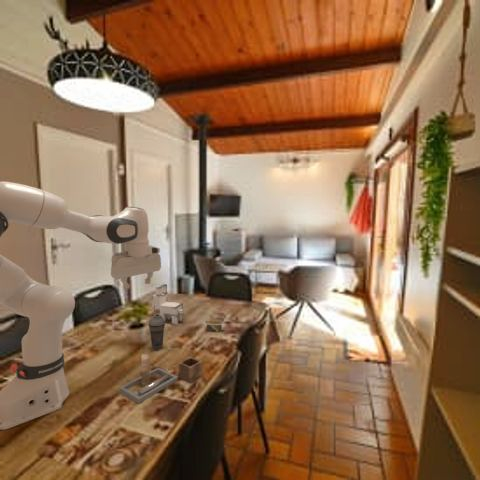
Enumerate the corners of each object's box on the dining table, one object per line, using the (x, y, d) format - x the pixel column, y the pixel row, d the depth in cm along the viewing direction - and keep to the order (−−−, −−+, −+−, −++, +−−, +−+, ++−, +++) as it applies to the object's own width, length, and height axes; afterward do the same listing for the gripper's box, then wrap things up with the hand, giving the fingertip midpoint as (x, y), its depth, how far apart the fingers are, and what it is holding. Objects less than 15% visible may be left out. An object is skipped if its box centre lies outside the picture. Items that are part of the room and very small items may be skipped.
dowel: (145, 387, 111) (144, 357, 110) (139, 384, 113) (139, 355, 112) (152, 383, 114) (151, 354, 112) (146, 381, 115) (146, 352, 114)
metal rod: (142, 397, 105) (141, 390, 105) (138, 396, 106) (137, 388, 106) (170, 381, 115) (169, 375, 115) (165, 380, 116) (164, 373, 116)
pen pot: (190, 385, 114) (190, 368, 113) (178, 379, 118) (178, 362, 117) (202, 377, 119) (202, 361, 118) (190, 372, 123) (190, 356, 122)
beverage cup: (161, 352, 139) (160, 308, 137) (146, 350, 140) (145, 307, 138) (168, 345, 146) (167, 303, 144) (153, 344, 147) (152, 302, 145)
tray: (139, 405, 102) (139, 399, 102) (119, 393, 109) (119, 387, 108) (178, 382, 116) (177, 376, 116) (158, 372, 122) (158, 367, 122)
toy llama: (180, 325, 170) (179, 289, 168) (152, 321, 175) (151, 286, 173) (186, 321, 177) (186, 286, 175) (159, 317, 182) (159, 283, 180)
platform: (229, 337, 157) (229, 324, 156) (193, 335, 159) (193, 322, 158) (232, 328, 168) (232, 316, 168) (199, 326, 170) (199, 314, 170)
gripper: (116, 254, 108) (118, 293, 110) (163, 248, 125) (163, 282, 126) (106, 252, 112) (107, 290, 113) (152, 246, 128) (153, 279, 130)
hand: (137, 286), depth 120 cm, fingers open, 8 cm apart
